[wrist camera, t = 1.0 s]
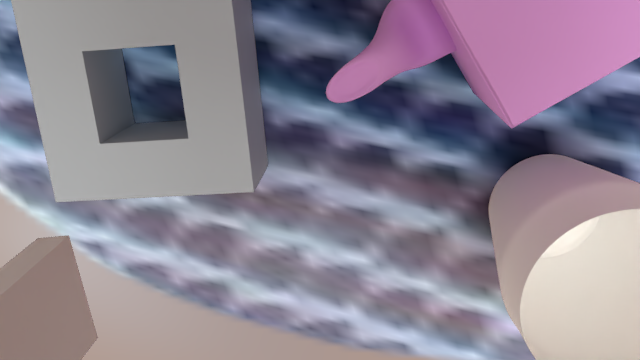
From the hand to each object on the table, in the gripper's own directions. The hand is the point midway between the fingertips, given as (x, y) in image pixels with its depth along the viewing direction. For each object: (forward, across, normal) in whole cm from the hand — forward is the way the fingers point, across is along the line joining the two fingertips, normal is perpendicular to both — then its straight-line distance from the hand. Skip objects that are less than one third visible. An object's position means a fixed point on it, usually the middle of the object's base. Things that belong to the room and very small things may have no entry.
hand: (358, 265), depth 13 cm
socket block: (+22, -12, +2) cm, 25 cm away
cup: (+23, +10, -8) cm, 26 cm away
